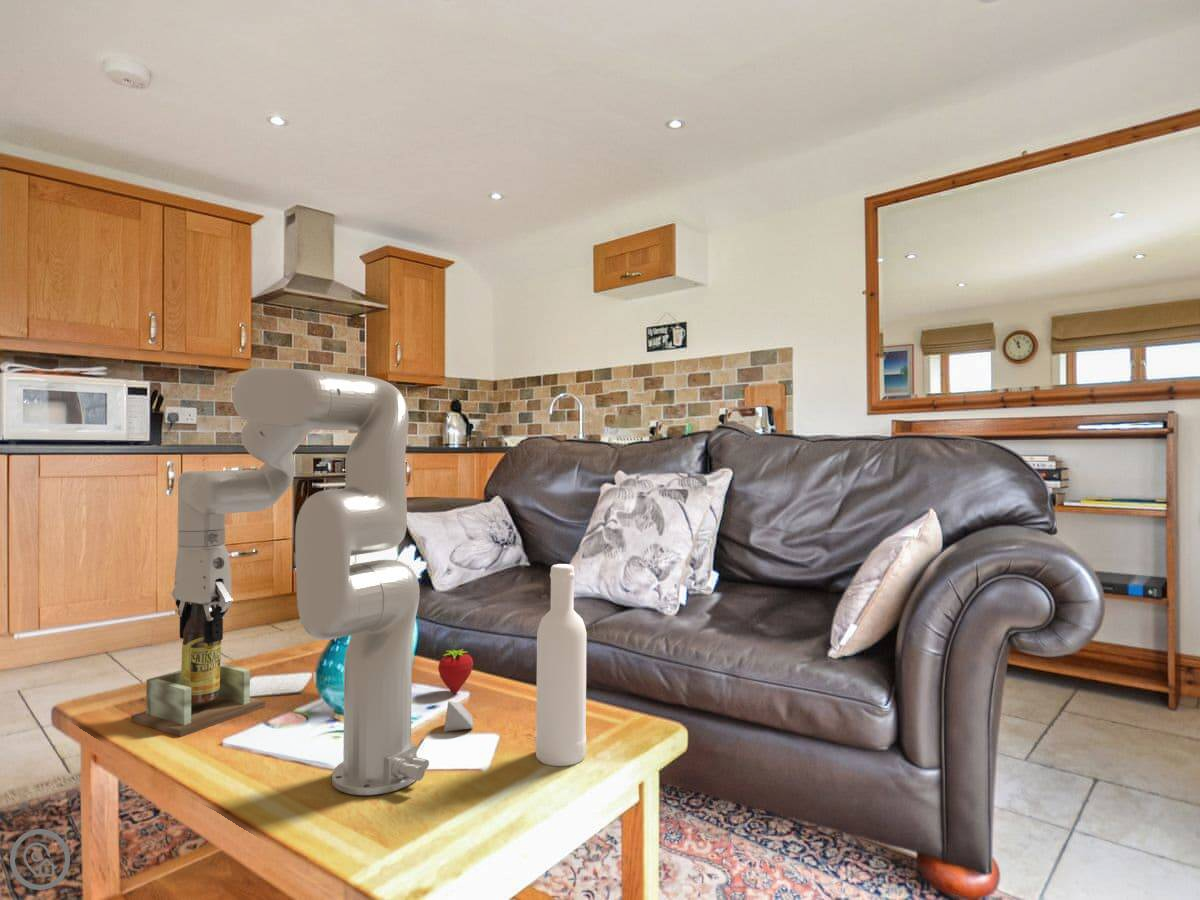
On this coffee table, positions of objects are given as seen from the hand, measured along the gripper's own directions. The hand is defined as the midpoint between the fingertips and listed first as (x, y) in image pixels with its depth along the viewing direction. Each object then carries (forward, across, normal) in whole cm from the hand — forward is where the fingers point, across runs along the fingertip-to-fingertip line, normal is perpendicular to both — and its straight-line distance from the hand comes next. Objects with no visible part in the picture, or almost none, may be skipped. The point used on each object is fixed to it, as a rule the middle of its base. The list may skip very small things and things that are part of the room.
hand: (201, 638), depth 130 cm
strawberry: (+14, -33, -31) cm, 47 cm away
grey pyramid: (+14, -45, -17) cm, 50 cm away
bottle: (+14, -66, -16) cm, 69 cm away
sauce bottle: (+11, 0, 0) cm, 11 cm away
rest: (+14, 0, 0) cm, 14 cm away
